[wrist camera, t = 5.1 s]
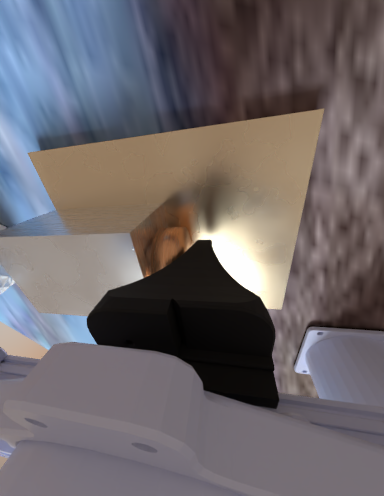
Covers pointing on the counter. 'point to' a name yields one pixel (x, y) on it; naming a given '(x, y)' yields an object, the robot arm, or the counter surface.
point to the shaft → (167, 246)
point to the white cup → (4, 275)
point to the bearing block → (165, 208)
